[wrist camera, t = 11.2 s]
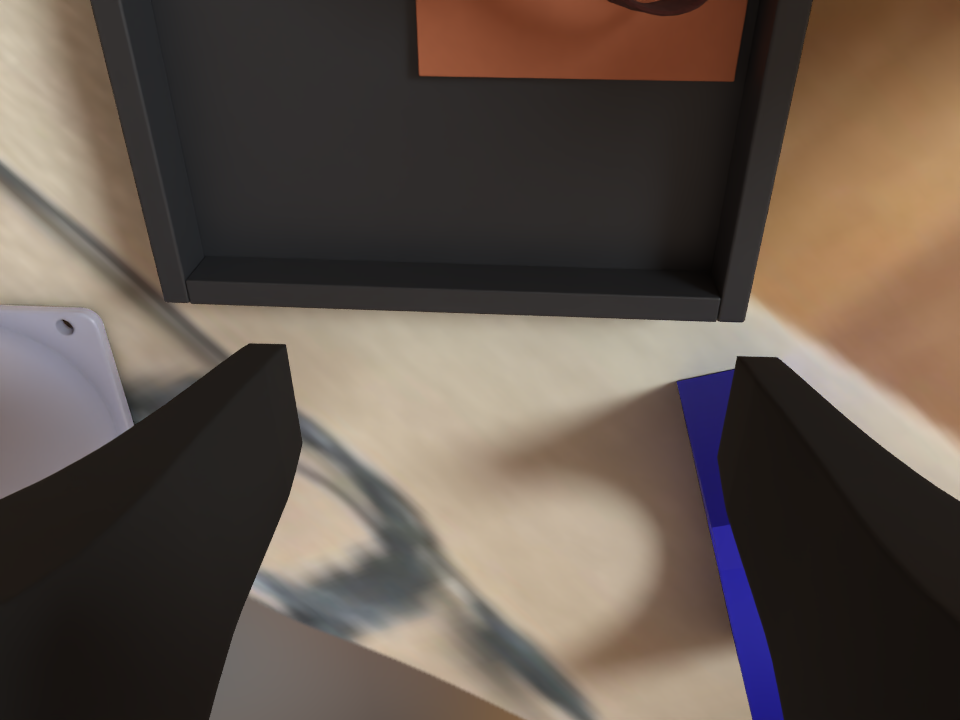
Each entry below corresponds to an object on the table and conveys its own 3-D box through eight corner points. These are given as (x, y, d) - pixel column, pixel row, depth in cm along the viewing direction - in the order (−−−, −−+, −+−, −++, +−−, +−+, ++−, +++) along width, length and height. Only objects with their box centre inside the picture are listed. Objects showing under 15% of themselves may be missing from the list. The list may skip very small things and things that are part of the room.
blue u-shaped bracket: (860, 619, 29) (926, 784, 24) (733, 636, 30) (771, 798, 25) (835, 348, 23) (917, 493, 18) (676, 381, 24) (711, 527, 19)
